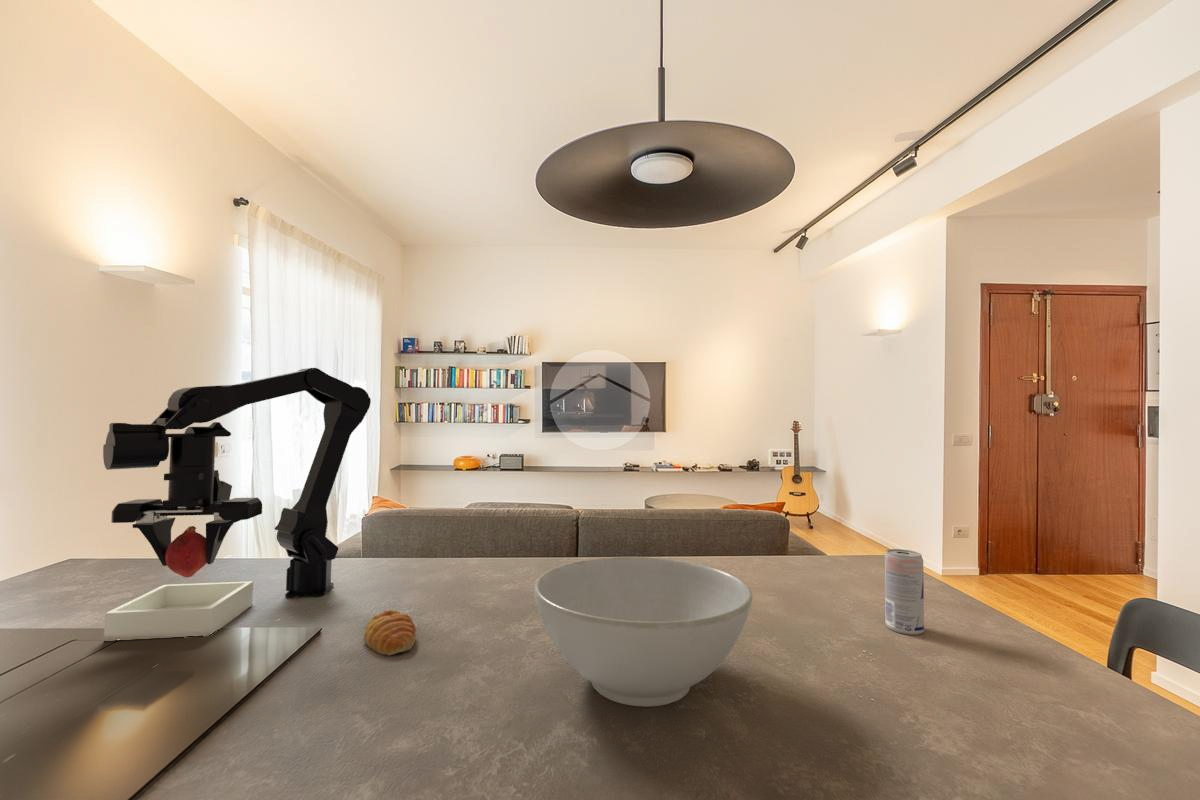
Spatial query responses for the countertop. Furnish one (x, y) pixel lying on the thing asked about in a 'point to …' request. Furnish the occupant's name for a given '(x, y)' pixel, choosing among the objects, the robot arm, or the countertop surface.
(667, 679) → the decorative bowl
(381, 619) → the pastry
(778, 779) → the countertop surface
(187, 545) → the onion
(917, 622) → the energy drink
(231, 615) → the bin
